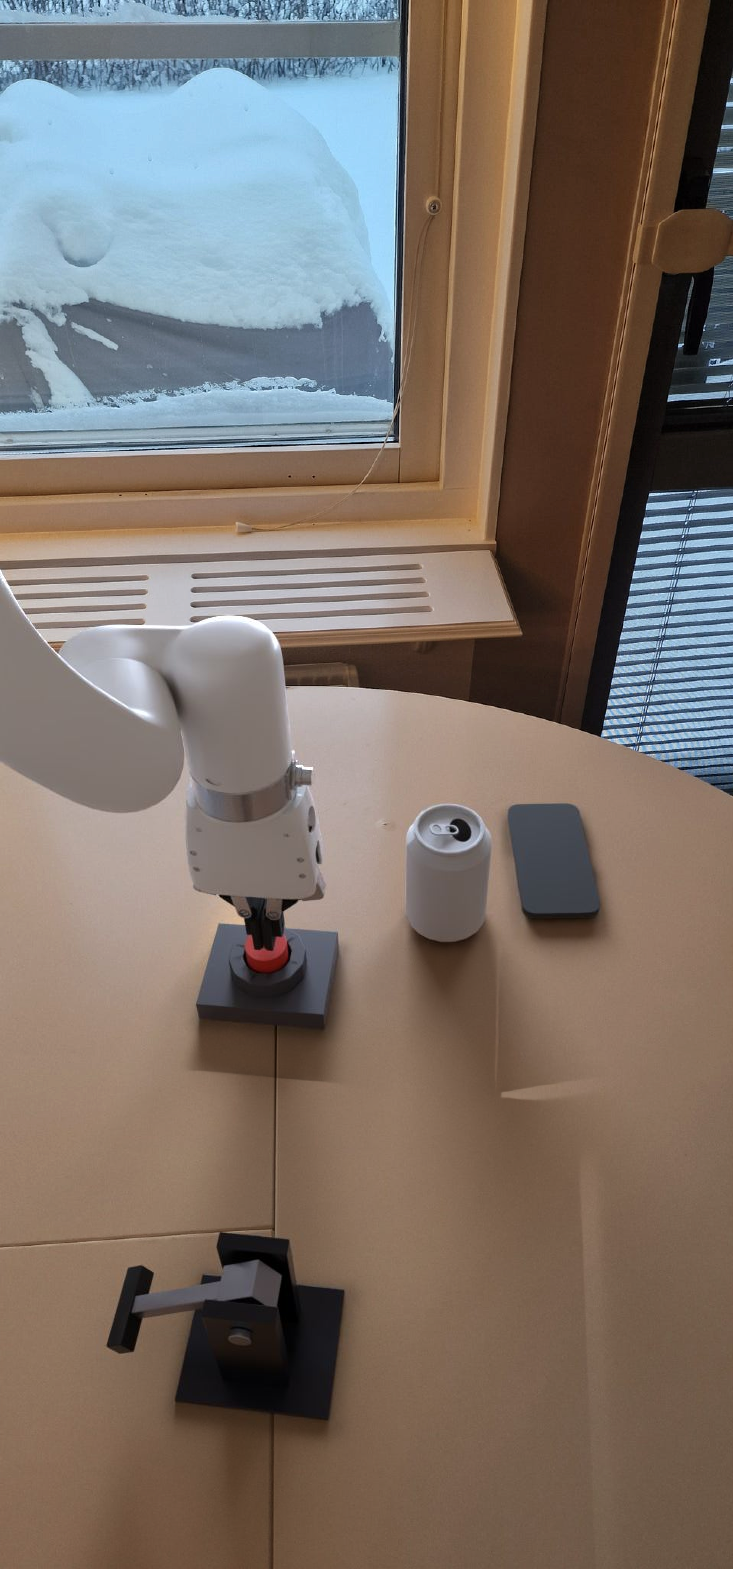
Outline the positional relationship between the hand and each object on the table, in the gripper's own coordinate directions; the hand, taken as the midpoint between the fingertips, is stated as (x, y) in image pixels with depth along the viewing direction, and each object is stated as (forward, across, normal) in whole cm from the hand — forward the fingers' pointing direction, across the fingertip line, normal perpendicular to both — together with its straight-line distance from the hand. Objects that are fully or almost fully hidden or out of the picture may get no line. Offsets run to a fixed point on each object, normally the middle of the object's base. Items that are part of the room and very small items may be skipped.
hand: (267, 937), depth 88 cm
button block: (+6, 0, 0) cm, 6 cm away
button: (+3, 0, 0) cm, 3 cm away
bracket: (+6, -5, +30) cm, 31 cm away
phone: (+6, -25, -17) cm, 31 cm away
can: (+7, -15, -9) cm, 18 cm away
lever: (0, -2, +30) cm, 30 cm away
